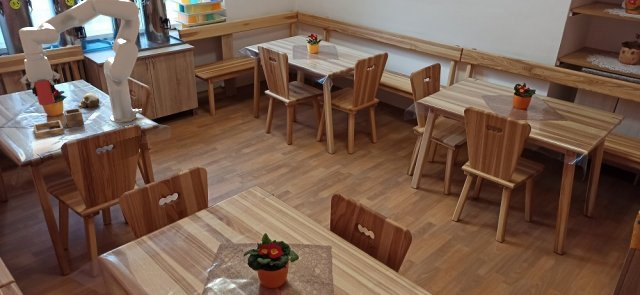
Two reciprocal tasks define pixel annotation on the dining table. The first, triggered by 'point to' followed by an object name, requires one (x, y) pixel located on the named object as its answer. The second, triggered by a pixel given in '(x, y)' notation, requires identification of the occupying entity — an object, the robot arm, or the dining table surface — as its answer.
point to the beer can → (44, 92)
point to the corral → (47, 125)
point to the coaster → (76, 130)
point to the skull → (89, 101)
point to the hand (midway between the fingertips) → (44, 93)
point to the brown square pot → (74, 117)
